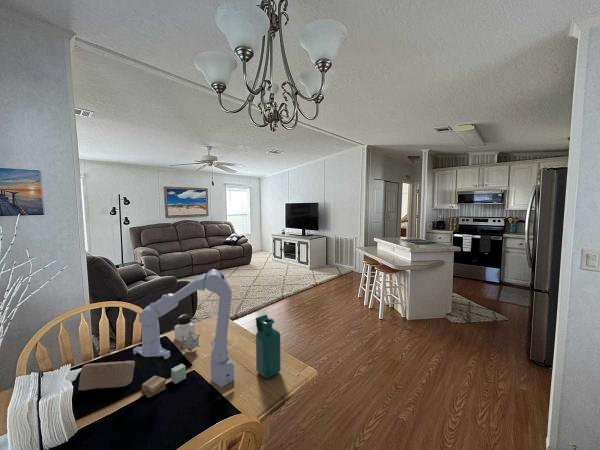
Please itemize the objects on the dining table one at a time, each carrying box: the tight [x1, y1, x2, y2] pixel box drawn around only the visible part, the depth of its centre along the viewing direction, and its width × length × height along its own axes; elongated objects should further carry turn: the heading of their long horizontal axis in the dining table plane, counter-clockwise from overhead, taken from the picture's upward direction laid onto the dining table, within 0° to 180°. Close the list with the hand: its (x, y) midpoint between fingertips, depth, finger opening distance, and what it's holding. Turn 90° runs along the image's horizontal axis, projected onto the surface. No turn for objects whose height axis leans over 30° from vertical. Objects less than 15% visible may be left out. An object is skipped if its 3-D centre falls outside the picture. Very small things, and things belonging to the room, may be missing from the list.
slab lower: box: [142, 384, 167, 399], centre depth 97 cm, size 6×6×2 cm
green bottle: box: [255, 314, 282, 379], centre depth 108 cm, size 10×8×22 cm
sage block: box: [170, 363, 187, 385], centre depth 103 cm, size 3×4×5 cm
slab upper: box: [141, 375, 167, 393], centre depth 97 cm, size 6×6×2 cm
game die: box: [180, 332, 201, 352], centre depth 122 cm, size 9×8×10 cm
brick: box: [78, 360, 136, 391], centre depth 99 cm, size 17×8×5 cm
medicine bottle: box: [174, 314, 196, 344], centre depth 135 cm, size 7×7×12 cm
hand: (152, 373), depth 97 cm, fingers open, 7 cm apart
